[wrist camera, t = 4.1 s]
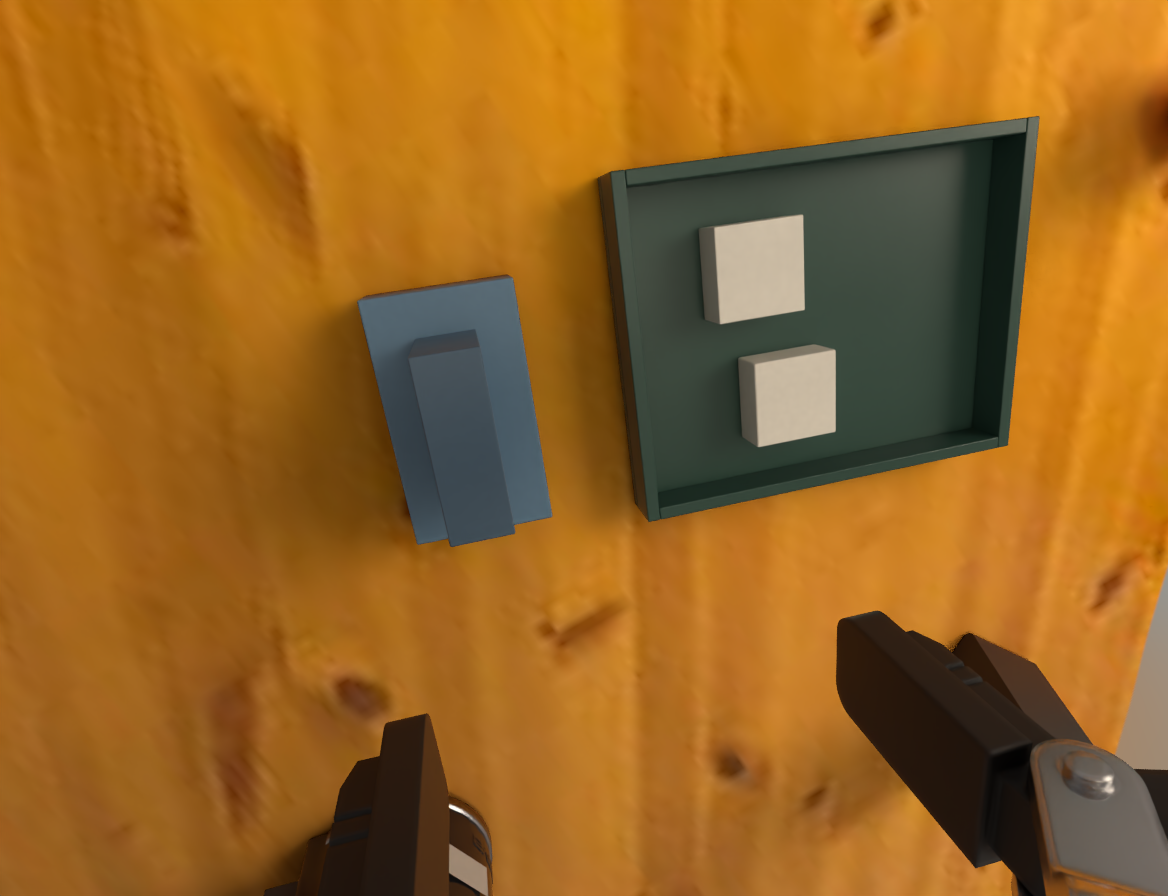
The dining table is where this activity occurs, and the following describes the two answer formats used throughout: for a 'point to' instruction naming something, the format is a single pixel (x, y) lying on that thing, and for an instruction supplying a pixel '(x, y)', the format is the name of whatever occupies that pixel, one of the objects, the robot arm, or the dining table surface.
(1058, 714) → the dark grey a-frame stand
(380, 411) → the dining table surface
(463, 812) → the robot arm
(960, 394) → the tray
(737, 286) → the cream slab tile
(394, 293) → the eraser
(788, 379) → the beige square tile
